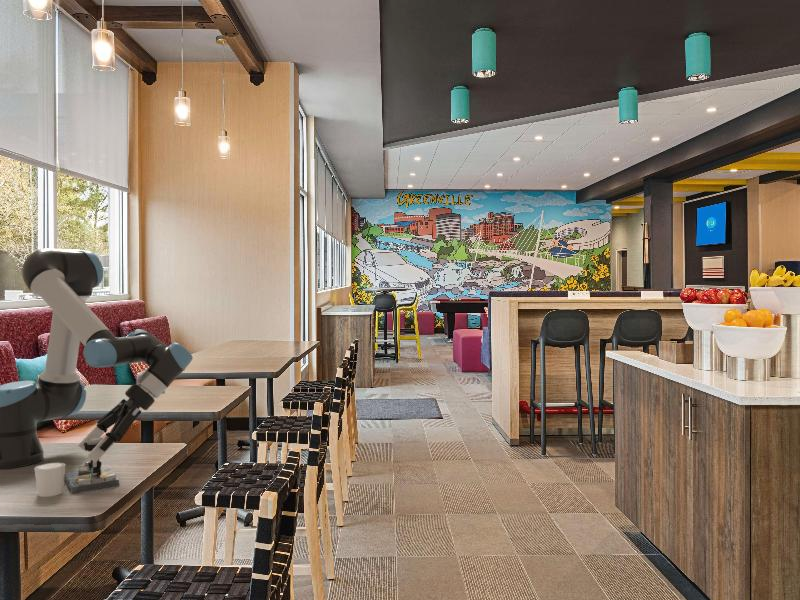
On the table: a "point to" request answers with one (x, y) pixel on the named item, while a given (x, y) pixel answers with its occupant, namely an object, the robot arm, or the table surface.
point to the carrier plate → (90, 479)
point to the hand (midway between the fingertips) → (86, 454)
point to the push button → (94, 467)
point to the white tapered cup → (50, 479)
